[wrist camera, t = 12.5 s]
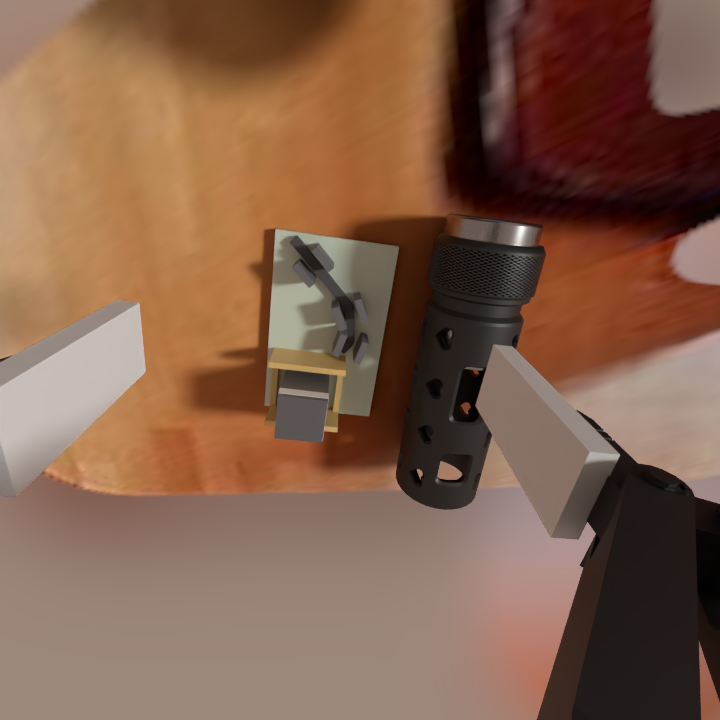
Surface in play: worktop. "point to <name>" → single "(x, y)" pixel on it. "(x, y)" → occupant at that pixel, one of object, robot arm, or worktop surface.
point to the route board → (317, 316)
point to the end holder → (306, 363)
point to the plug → (302, 406)
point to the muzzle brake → (463, 349)
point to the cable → (329, 288)
